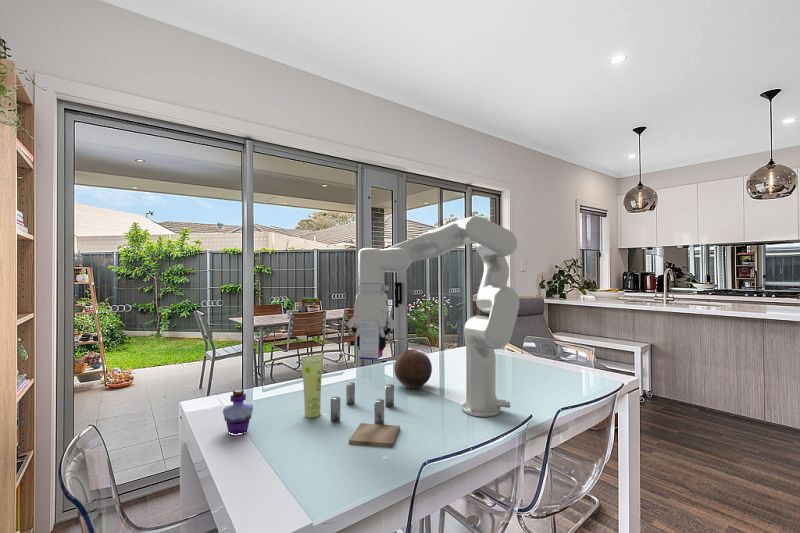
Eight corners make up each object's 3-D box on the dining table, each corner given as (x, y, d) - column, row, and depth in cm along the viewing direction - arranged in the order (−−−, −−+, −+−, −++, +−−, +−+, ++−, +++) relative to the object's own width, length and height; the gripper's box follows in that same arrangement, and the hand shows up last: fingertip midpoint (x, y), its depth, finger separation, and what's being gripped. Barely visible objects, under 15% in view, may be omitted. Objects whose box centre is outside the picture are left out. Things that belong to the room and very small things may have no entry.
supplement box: (378, 360, 115) (377, 320, 115) (358, 359, 116) (358, 320, 116) (383, 356, 121) (383, 318, 121) (365, 355, 122) (364, 317, 122)
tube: (314, 419, 124) (314, 357, 124) (300, 417, 126) (300, 356, 126) (323, 413, 130) (323, 353, 130) (309, 411, 131) (309, 352, 131)
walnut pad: (400, 429, 117) (400, 425, 117) (392, 447, 105) (392, 443, 105) (360, 426, 119) (360, 423, 119) (348, 443, 107) (348, 440, 107)
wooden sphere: (439, 388, 157) (439, 350, 157) (408, 395, 148) (408, 355, 148) (416, 379, 169) (416, 344, 169) (387, 385, 160) (387, 348, 161)
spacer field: (394, 404, 138) (394, 384, 138) (383, 425, 119) (383, 402, 119) (347, 401, 141) (347, 382, 141) (329, 422, 122) (329, 399, 122)
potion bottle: (230, 425, 119) (230, 386, 119) (258, 426, 119) (258, 386, 119) (216, 438, 111) (216, 395, 111) (246, 438, 110) (246, 395, 110)
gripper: (401, 288, 121) (402, 348, 120) (348, 288, 124) (348, 346, 124) (396, 290, 113) (396, 353, 113) (339, 289, 117) (339, 351, 117)
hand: (371, 348), depth 119 cm, fingers closed on supplement box, 5 cm apart
